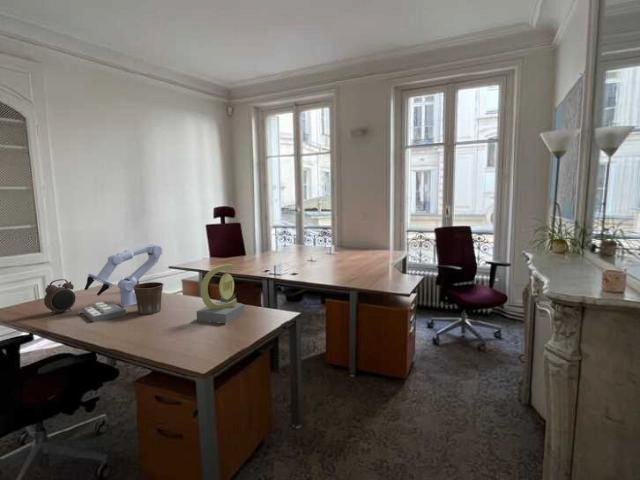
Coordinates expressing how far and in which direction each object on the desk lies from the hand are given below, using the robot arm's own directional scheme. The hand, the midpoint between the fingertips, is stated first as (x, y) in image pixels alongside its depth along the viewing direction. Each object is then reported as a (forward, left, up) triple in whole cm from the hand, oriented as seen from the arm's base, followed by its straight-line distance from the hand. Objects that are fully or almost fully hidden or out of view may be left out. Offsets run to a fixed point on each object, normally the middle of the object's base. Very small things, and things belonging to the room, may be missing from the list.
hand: (91, 292), depth 203 cm
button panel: (-4, +8, -12) cm, 15 cm away
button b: (-4, +8, -10) cm, 13 cm away
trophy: (-46, +65, -12) cm, 81 cm away
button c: (-3, +15, -10) cm, 18 cm away
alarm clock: (+12, -14, -12) cm, 23 cm away
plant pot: (-24, +24, -12) cm, 36 cm away
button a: (-4, +1, -10) cm, 11 cm away
